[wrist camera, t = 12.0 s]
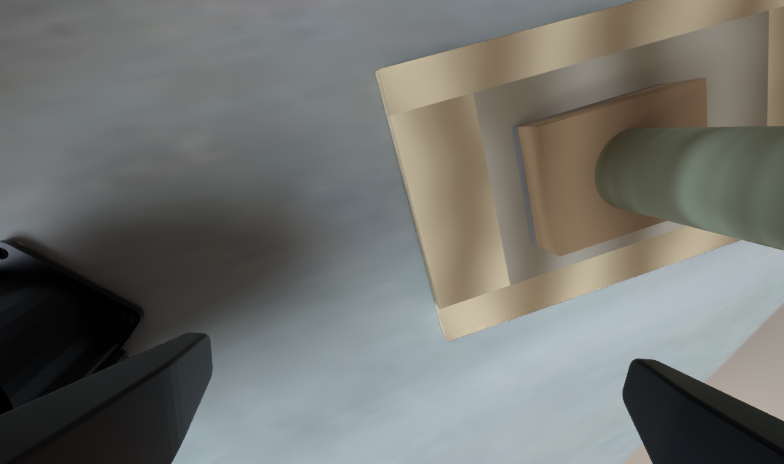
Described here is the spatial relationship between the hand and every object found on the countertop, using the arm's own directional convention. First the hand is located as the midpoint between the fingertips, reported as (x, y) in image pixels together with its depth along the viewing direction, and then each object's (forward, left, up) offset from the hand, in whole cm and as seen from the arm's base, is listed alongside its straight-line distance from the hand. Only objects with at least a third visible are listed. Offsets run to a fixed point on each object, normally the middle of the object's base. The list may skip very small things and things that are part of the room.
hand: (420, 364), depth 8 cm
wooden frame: (+8, +11, -12) cm, 18 cm away
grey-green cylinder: (+7, +10, -11) cm, 16 cm away
